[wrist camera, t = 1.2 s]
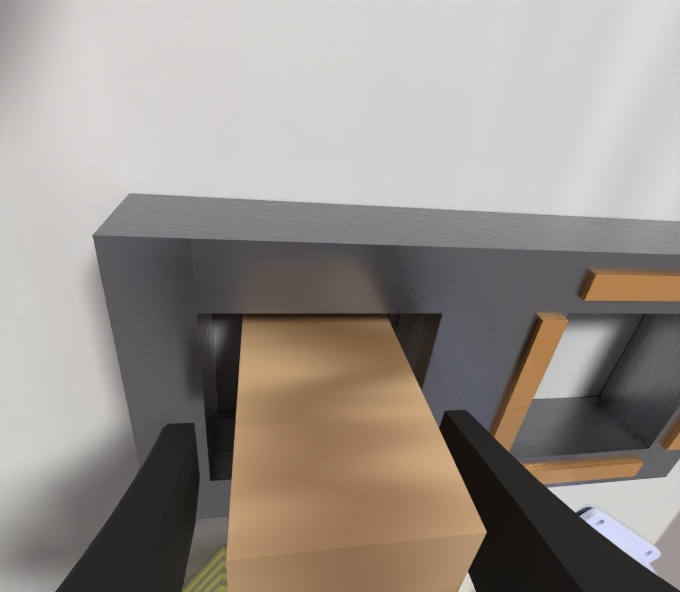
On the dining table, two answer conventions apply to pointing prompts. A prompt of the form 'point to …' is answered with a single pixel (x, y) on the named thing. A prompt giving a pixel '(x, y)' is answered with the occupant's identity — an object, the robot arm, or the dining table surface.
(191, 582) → the hardcover book
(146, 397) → the grey slotted holder
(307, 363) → the wooden block
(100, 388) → the dining table surface
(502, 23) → the dining table surface
